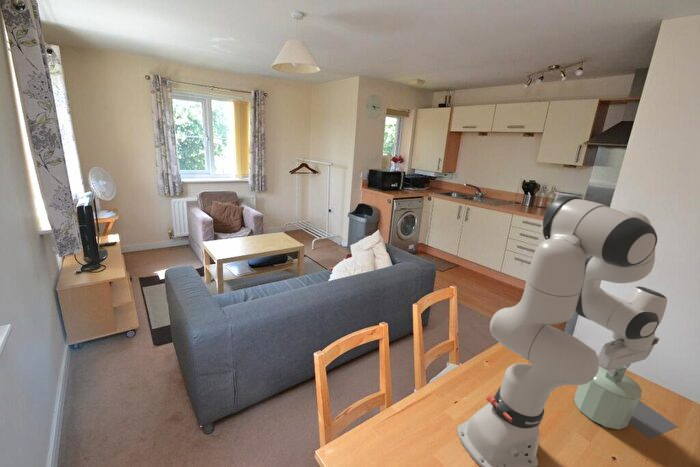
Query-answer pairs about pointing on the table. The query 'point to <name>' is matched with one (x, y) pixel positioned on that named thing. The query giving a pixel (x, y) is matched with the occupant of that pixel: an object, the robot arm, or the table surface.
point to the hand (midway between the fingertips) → (615, 373)
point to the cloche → (609, 398)
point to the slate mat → (650, 421)
